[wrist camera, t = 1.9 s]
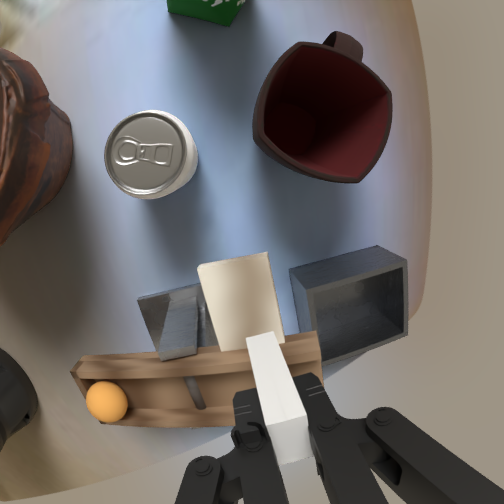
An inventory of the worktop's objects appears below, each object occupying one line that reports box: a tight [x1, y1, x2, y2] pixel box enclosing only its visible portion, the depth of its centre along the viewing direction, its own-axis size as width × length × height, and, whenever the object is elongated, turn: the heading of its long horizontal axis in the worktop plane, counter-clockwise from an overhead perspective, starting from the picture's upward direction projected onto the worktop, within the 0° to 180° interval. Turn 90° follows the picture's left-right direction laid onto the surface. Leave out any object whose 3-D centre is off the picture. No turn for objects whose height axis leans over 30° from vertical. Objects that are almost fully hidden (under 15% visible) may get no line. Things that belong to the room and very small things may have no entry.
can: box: [104, 110, 198, 199], centre depth 25 cm, size 6×6×12 cm
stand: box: [137, 283, 219, 429], centre depth 30 cm, size 10×11×11 cm
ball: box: [86, 381, 128, 423], centre depth 25 cm, size 4×4×4 cm
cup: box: [252, 31, 392, 183], centre depth 25 cm, size 10×14×12 cm
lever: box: [70, 252, 324, 427], centre depth 24 cm, size 22×14×3 cm, turn 102°
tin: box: [289, 245, 408, 367], centre depth 34 cm, size 11×9×6 cm
